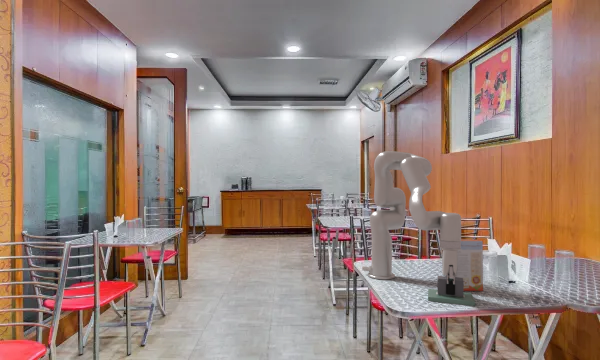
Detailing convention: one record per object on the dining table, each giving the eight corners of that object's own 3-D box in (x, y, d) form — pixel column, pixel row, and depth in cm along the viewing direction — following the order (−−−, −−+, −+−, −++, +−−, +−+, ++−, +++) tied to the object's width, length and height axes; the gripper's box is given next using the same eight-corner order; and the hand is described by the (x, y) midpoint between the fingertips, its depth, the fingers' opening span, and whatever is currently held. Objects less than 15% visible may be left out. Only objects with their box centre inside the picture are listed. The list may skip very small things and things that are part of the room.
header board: (428, 300, 137) (428, 286, 137) (428, 292, 148) (428, 278, 148) (475, 306, 132) (475, 290, 132) (471, 296, 143) (471, 282, 143)
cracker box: (476, 287, 157) (476, 238, 157) (483, 291, 151) (483, 240, 151) (443, 287, 157) (444, 238, 157) (449, 291, 151) (449, 240, 151)
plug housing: (437, 294, 139) (437, 278, 139) (437, 290, 144) (437, 275, 144) (463, 297, 136) (463, 280, 136) (462, 293, 141) (462, 277, 141)
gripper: (439, 241, 150) (439, 285, 149) (440, 247, 134) (440, 297, 133) (459, 242, 147) (458, 287, 147) (462, 249, 131) (462, 300, 131)
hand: (450, 292), depth 140 cm, fingers closed on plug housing, 5 cm apart
